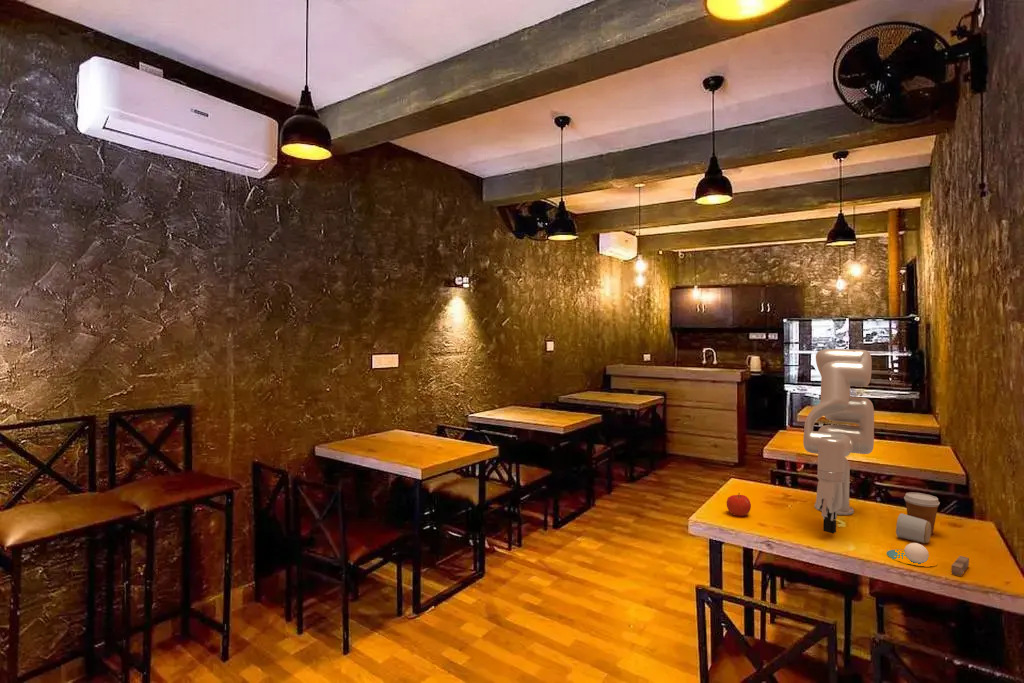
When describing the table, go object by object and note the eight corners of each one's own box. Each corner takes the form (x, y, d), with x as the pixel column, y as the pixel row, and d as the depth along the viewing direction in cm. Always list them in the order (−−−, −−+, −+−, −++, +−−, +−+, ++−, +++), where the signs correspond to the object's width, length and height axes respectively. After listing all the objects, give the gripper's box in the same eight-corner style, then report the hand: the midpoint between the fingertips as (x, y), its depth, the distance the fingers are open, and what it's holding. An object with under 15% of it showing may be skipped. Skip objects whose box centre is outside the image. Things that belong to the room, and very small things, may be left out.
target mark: (893, 546, 167) (893, 546, 167) (942, 559, 158) (942, 559, 158) (881, 557, 160) (881, 556, 160) (931, 571, 151) (931, 570, 151)
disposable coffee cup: (896, 528, 183) (897, 493, 183) (915, 525, 186) (916, 490, 186) (926, 539, 174) (927, 502, 174) (946, 535, 177) (946, 499, 177)
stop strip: (959, 564, 155) (959, 555, 155) (968, 566, 154) (968, 558, 154) (951, 574, 149) (951, 565, 149) (960, 576, 147) (960, 567, 147)
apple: (755, 516, 194) (756, 494, 194) (739, 519, 191) (739, 497, 190) (737, 509, 201) (738, 488, 201) (721, 512, 198) (722, 491, 198)
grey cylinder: (927, 547, 168) (927, 522, 168) (895, 539, 174) (896, 515, 174) (933, 538, 175) (934, 515, 175) (902, 531, 181) (903, 508, 181)
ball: (931, 543, 155) (933, 563, 155) (909, 539, 160) (911, 558, 160) (921, 547, 152) (923, 568, 152) (899, 542, 157) (901, 562, 157)
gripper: (827, 469, 183) (825, 523, 183) (809, 477, 173) (807, 533, 174) (852, 474, 177) (850, 529, 178) (834, 482, 168) (833, 540, 168)
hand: (829, 531), depth 176 cm, fingers closed
